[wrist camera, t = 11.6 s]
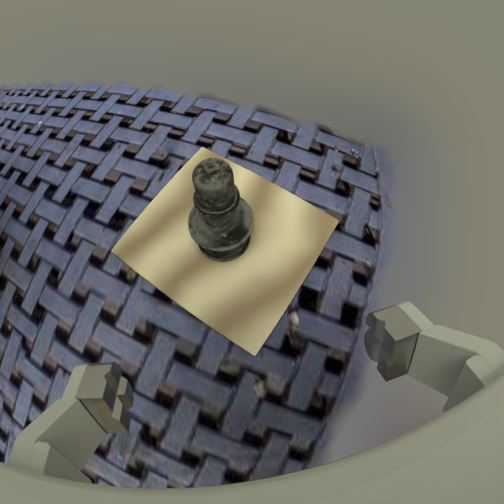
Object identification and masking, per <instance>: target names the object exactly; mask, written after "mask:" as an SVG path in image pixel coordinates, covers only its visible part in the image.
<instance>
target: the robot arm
mask: <svg viewBox="0 0 504 504" xmlns="http://www.w3.org/2000/svg"><path fill="white" fill-rule="evenodd" d="M366 324H367V325H368V327H369V329H368V330H367V332H366V333H365V339H364V343H365V348H366V351H367V354H368V355H369V357H370V359H371V360H373V361H376V362H378V366H377V369H378V371H379V372H380V373H381V375H382V376H383V378H384V379H385V381H386V382H387V381H389V380H392V379H395V378H397V377H400V376H402V375H405V374H408V375H409V376H411V377H412V378H414V379H416V380H418V381H420V382H422V383H424V384H426V385H427V386H429V387H431V388H433V389H435V390H437V391H439V392H440V393H442V394H444V395H446V396H448V397H449V398H448V400H447V402H446V404H445V406H444V408H443V414H441V415H439V416H437V417H436V418H434V419H432V420H430V421H428V422H426V423H425V424H423V425H421V426H419V427H417V428H415V429H413V430H411V431H409V432H406V433H404V434H402V435H400V436H398V437H396V438H394V439H391V440H389V441H387V442H384V443H382V444H380V445H377V446H375V447H372V448H370V449H367V450H365V451H362V452H359V453H357V454H354V455H351V456H348V457H345V458H342V459H339V460H336V461H333V462H330V463H327V464H323V465H320V466H316V467H313V468H309V469H305V470H302V471H298V472H294V473H289V474H285V475H280V476H276V477H271V478H266V479H260V480H255V481H248V482H242V483H235V484H227V485H218V486H207V487H192V488H131V487H117V486H107V485H98V484H91V480H90V479H89V478H88V477H87V476H85V475H84V474H83V473H82V472H80V470H81V469H82V467H83V466H84V465H85V463H86V462H87V460H88V459H89V458H90V456H91V455H92V454H93V452H94V451H95V450H96V448H97V447H98V445H99V444H100V443H101V441H102V440H103V439H104V437H105V436H106V435H107V434H106V433H129V426H130V420H131V416H130V415H129V413H128V411H129V410H130V409H131V408H132V406H133V400H134V399H133V391H132V388H131V385H130V383H129V382H128V380H127V379H125V378H124V377H122V376H121V374H122V369H121V368H120V366H119V365H118V363H115V362H111V363H91V364H78V365H76V366H75V367H74V369H73V372H72V374H71V377H70V379H69V382H68V384H67V387H66V389H65V392H64V395H63V397H62V399H58V400H57V401H55V402H54V403H53V404H52V405H51V406H50V407H49V408H48V409H46V410H45V411H44V412H43V413H42V414H41V415H40V416H39V417H37V418H36V419H35V420H34V421H33V422H32V423H31V424H30V425H29V426H27V427H26V428H25V429H24V430H23V431H22V432H21V433H20V434H19V435H17V437H16V440H15V443H14V446H13V449H12V452H11V455H10V458H9V461H8V464H5V463H2V462H0V504H504V351H503V350H502V349H501V348H500V347H499V346H498V345H497V344H496V343H495V342H492V341H489V340H486V339H482V338H479V337H476V336H473V335H469V334H466V333H462V332H459V331H456V330H453V329H450V328H447V327H444V326H440V325H437V326H434V325H433V324H432V323H431V322H430V321H429V320H428V319H427V318H426V317H425V316H424V315H423V314H422V313H421V312H420V311H419V310H418V309H417V308H416V307H415V306H414V305H413V304H412V303H411V302H409V301H404V302H401V303H399V304H396V305H394V306H390V307H388V308H384V309H381V310H378V311H375V312H371V313H369V314H368V316H367V320H366Z"/></svg>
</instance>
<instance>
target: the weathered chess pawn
mask: <svg viewBox="0 0 504 504" xmlns="http://www.w3.org/2000/svg"><path fill="white" fill-rule="evenodd" d="M192 181H193V185H194V188H195V192H194V195H193V203H194V206H193V208H192V209H191V211H190V213H189V217H188V230H189V232H190V235H191V237H192V238H193V240H194V241H195V242H196V243H197V244H198V246H199V248H200V250H201V252H202V253H203V254H204V255H205V256H206V257H208V258H209V259H211V260H214V261H217V262H228V261H232V260H235V259H237V258H239V257H240V256H241V255H242V254H244V252H245V251H246V250H247V248H248V246H249V243H250V236H251V235H250V234H251V232H252V229H253V226H254V216H253V211H252V209H251V207H250V205H249V204H248V203H247V202H246V201H245V200H244V199H243V198H241V197H240V192H239V190H238V188H237V186H236V185H235V184H234V174H233V170H232V168H231V166H230V165H229V164H228V163H227V162H226V161H224V160H222V159H218V158H208V159H205V160H203V161H201V162H200V163H198V164H197V165H196V166H195V168H194V170H193V173H192Z"/></svg>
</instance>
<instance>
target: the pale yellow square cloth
mask: <svg viewBox="0 0 504 504" xmlns="http://www.w3.org/2000/svg"><path fill="white" fill-rule="evenodd" d="M208 158H218V159H222V160H224V161H226V162H227V163H228V164H229V165H230V166H231V168H232V170H233V174H234V184H235V185H236V186H237V188H238V190H239V192H240V197H241V198H243V199H244V200H245V201H246V202H247V203H248V204H249V205H250V207H251V209H252V211H253V216H254V226H253V229H252V232H251V234H250V235H251V236H250V243H249V246H248V248H247V250H246V251H245V252H244V254H242V255H241V256H240V257H239V258H237V259H235V260H232V261H228V262H217V261H214V260H211V259H209V258H208V257H206V256H205V255H204V254H203V253H202V252H201V250H200V248H199V246H198V244H197V243H196V242H195V241H194V240H193V238H192V237H191V235H190V232H189V230H188V217H189V213H190V211H191V209H192V208H193V206H194V203H193V195H194V192H195V188H194V185H193V181H192V173H193V170H194V168H195V166H196V165H197V164H198V163H200V162H201V161H203V160H205V159H208ZM338 222H339V221H338V220H337V219H335V218H333V217H331V216H330V215H328V214H326V213H325V212H323V211H321V210H320V209H318V208H316V207H314V206H313V205H311V204H309V203H307V202H306V201H304V200H302V199H300V198H299V197H297V196H295V195H293V194H292V193H290V192H288V191H286V190H284V189H283V188H281V187H279V186H277V185H275V184H273V183H272V182H270V181H268V180H266V179H264V178H262V177H260V176H258V175H257V174H255V173H253V172H251V171H249V170H247V169H245V168H243V167H241V166H239V165H237V164H235V163H233V162H231V161H229V160H227V159H225V158H223V157H221V156H219V155H217V154H215V153H213V152H211V151H209V150H207V149H205V148H203V147H202V148H201V149H200V150H199V151H198V152H197V153H196V154H195V155H194V156H193V157H192V158H191V159H190V160H189V161H188V162H187V163H186V164H185V165H184V166H183V167H182V168H181V170H180V171H179V172H178V173H177V174H176V175H175V176H174V177H173V178H172V179H171V180H170V181H169V182H168V184H167V185H166V186H165V187H164V188H163V189H162V190H161V191H160V192H159V194H158V195H157V196H156V197H155V198H154V199H153V200H152V202H151V203H150V204H149V205H148V206H147V207H146V208H145V210H144V211H143V212H142V213H141V214H140V216H139V217H138V218H137V219H136V220H135V222H134V223H133V224H132V225H131V226H130V228H129V229H128V230H127V231H126V233H125V234H124V235H123V236H122V237H121V239H120V240H119V241H118V243H117V244H116V245H115V246H114V248H113V249H112V250H111V251H112V252H113V253H114V254H115V255H116V256H117V257H118V258H120V259H121V260H122V261H123V262H125V263H126V264H127V265H128V266H130V267H131V268H132V269H133V270H134V271H136V272H137V273H138V274H140V275H141V276H142V277H143V278H145V279H146V280H147V281H148V282H150V283H151V284H152V285H154V286H155V287H156V288H158V289H159V290H160V291H161V292H163V293H164V294H165V295H167V296H168V297H169V298H171V299H172V300H173V301H175V302H176V303H178V304H179V305H180V306H182V307H183V308H184V309H186V310H187V311H188V312H190V313H191V314H193V315H194V316H195V317H197V318H198V319H200V320H201V321H203V322H204V323H205V324H207V325H208V326H210V327H211V328H213V329H214V330H216V331H217V332H218V333H220V334H221V335H223V336H224V337H226V338H227V339H229V340H230V341H232V342H233V343H235V344H236V345H238V346H239V347H241V348H242V349H244V350H246V351H247V352H249V353H250V354H252V355H253V356H256V354H257V353H258V351H259V350H260V348H261V347H262V345H263V344H264V342H265V341H266V339H267V338H268V336H269V335H270V333H271V332H272V330H273V329H274V327H275V326H276V324H277V322H278V321H279V319H280V318H281V316H282V315H283V313H284V312H285V310H286V308H287V307H288V305H289V304H290V302H291V301H292V299H293V297H294V296H295V294H296V293H297V291H298V289H299V288H300V286H301V284H302V283H303V281H304V280H305V278H306V276H307V275H308V273H309V271H310V270H311V268H312V266H313V265H314V263H315V261H316V260H317V258H318V256H319V255H320V253H321V251H322V250H323V248H324V246H325V245H326V243H327V241H328V239H329V238H330V236H331V234H332V232H333V231H334V229H335V227H336V225H337V224H338Z"/></svg>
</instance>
